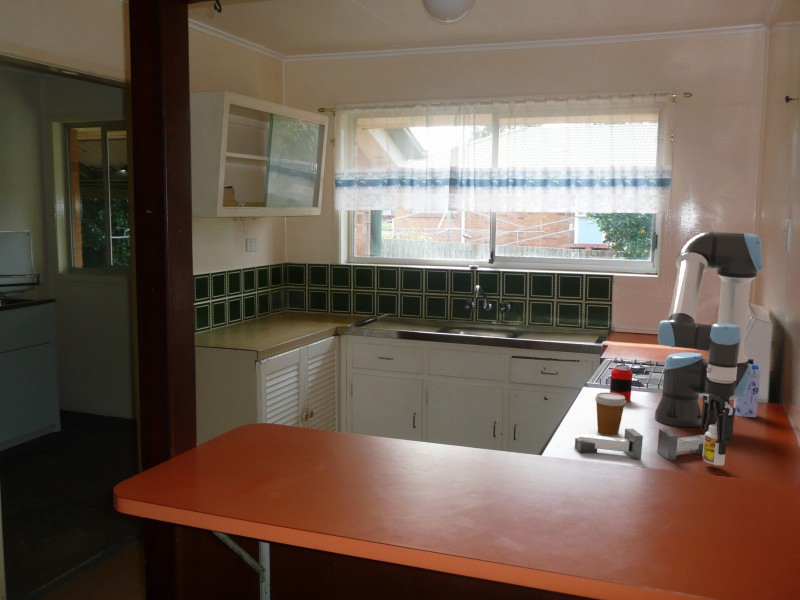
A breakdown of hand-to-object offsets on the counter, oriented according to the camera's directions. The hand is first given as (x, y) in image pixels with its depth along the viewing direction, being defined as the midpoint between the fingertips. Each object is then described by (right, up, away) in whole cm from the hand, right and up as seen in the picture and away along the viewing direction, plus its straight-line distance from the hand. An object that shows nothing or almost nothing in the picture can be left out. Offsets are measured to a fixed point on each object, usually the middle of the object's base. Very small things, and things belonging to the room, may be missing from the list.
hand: (713, 460), depth 215 cm
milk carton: (+35, +4, +59) cm, 68 cm away
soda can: (-6, +7, +72) cm, 72 cm away
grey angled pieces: (-15, 0, +10) cm, 18 cm away
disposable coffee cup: (-21, +3, +30) cm, 37 cm away
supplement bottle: (0, 0, 0) cm, 1 cm away
